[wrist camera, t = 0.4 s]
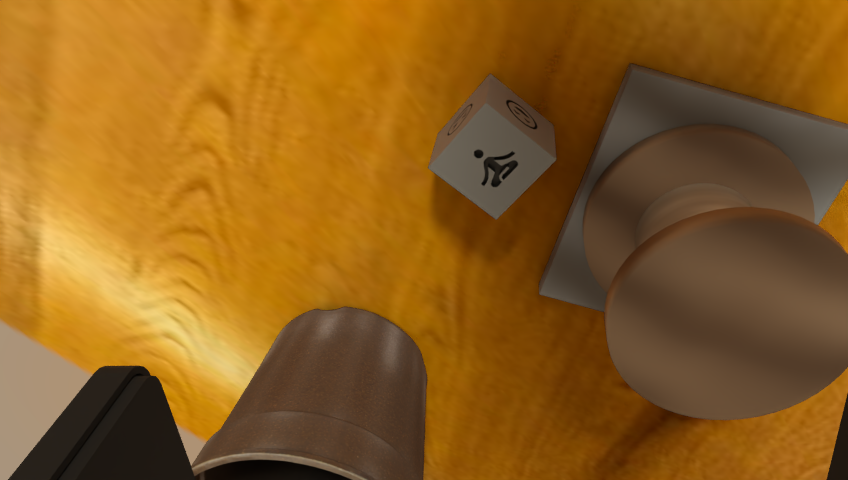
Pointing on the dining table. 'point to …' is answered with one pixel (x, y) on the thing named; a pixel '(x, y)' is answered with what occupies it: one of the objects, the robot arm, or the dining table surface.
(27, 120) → the dining table surface
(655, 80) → the bobbin
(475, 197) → the dice cube
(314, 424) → the plant pot
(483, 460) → the dining table surface
